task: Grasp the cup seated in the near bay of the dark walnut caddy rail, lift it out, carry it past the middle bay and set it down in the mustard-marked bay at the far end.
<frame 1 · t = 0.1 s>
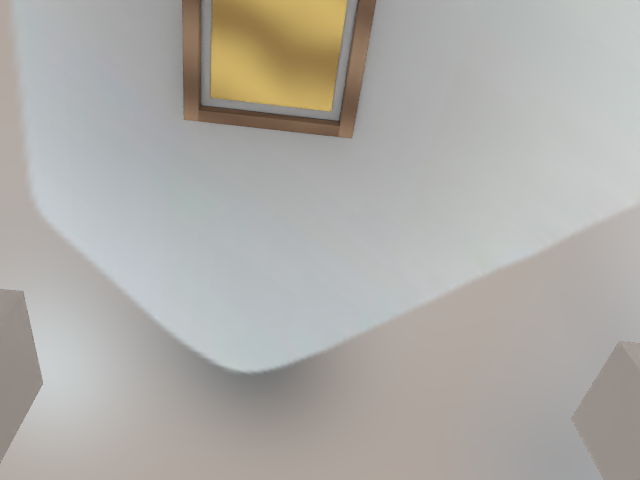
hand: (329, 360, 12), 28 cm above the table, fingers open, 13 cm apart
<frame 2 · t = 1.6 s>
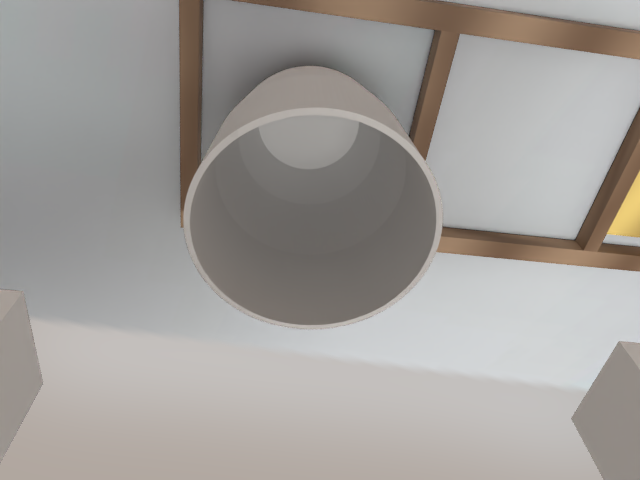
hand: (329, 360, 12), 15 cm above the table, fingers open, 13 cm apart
cup: (307, 120, 25), resting in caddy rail
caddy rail: (522, 147, 26), on the table
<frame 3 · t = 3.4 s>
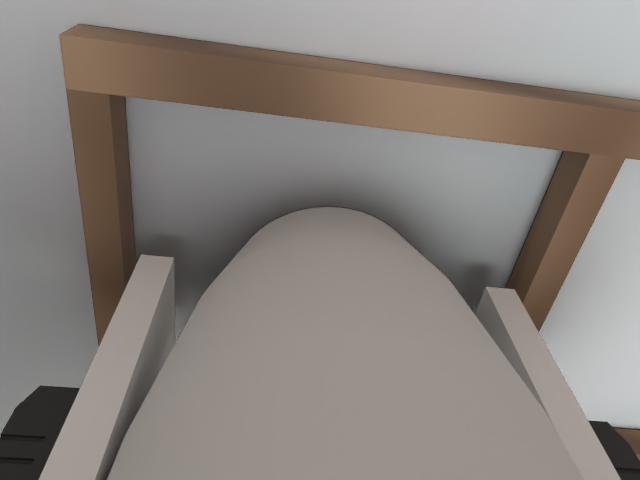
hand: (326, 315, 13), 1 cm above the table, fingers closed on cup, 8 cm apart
cup: (323, 282, 14), resting in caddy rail, touching gripper
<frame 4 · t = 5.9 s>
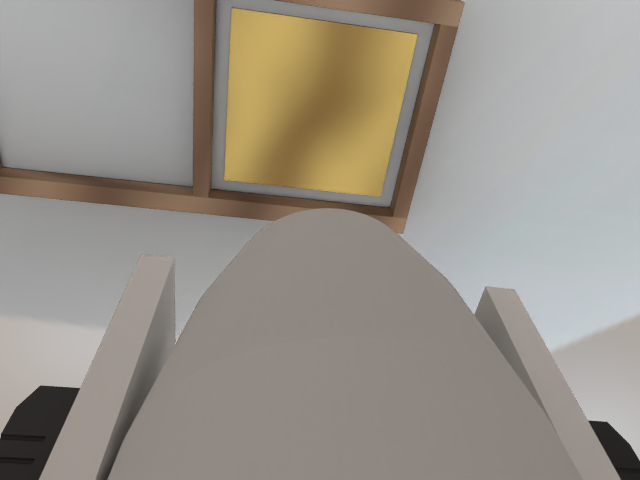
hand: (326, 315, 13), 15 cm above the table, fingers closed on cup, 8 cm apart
cup: (323, 283, 14), point 14 cm above the table, touching gripper
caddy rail: (91, 84, 25), on the table
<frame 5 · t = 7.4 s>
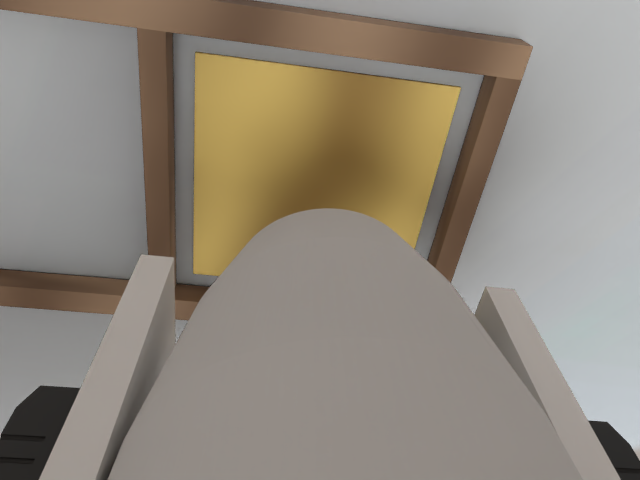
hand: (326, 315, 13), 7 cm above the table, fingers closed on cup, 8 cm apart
cup: (323, 283, 14), point 6 cm above the table, touching gripper
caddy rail: (2, 154, 18), on the table
when the fingers open (3 cm above the table, at t = 8.7 s): cup drops 1 cm, resting on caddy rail.
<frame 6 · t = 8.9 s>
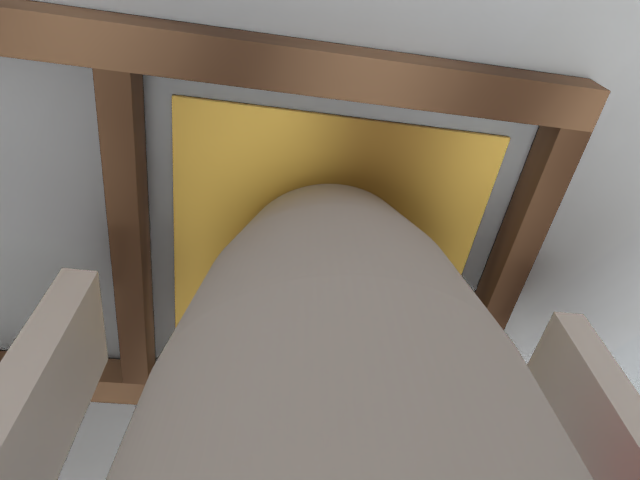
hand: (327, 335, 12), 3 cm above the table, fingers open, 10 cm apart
cup: (325, 255, 15), resting on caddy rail
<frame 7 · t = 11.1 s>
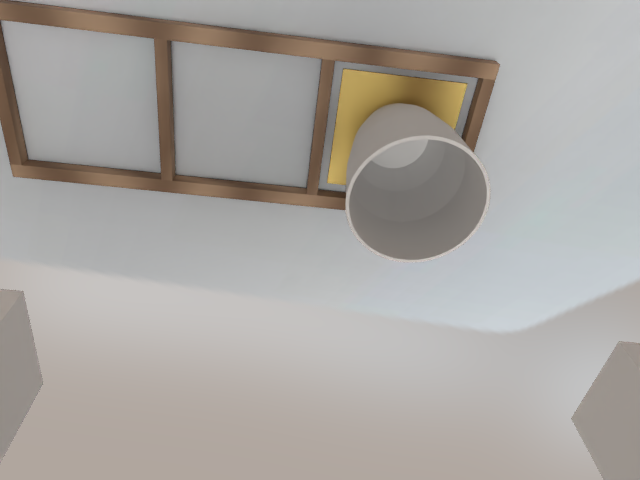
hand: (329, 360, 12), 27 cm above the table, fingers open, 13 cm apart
cup: (394, 135, 38), resting on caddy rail
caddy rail: (244, 118, 37), on the table
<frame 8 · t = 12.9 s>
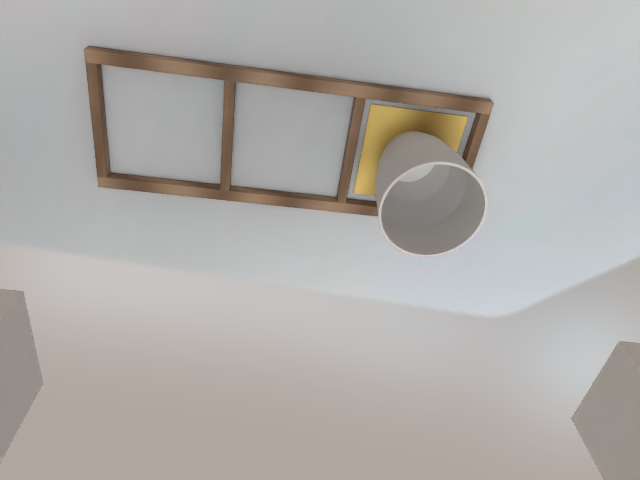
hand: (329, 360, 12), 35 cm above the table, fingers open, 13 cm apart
cup: (408, 156, 47), resting on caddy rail
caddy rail: (289, 141, 46), on the table
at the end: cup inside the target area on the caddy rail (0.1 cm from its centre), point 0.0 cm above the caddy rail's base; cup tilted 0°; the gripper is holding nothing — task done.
